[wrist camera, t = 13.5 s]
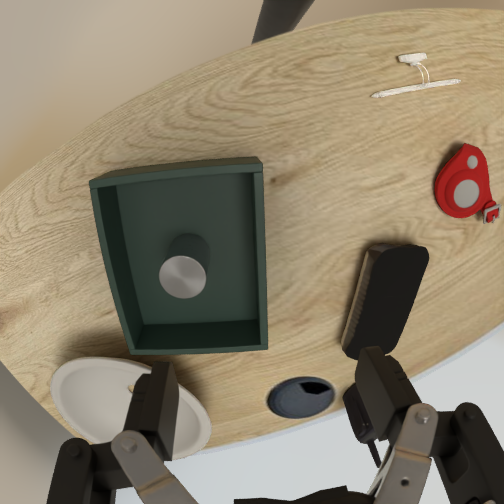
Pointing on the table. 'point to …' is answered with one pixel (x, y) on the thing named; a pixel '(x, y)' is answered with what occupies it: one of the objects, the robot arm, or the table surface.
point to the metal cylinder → (185, 266)
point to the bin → (160, 239)
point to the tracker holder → (466, 186)
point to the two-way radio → (361, 421)
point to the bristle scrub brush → (384, 297)
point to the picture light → (413, 60)
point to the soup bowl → (119, 402)
